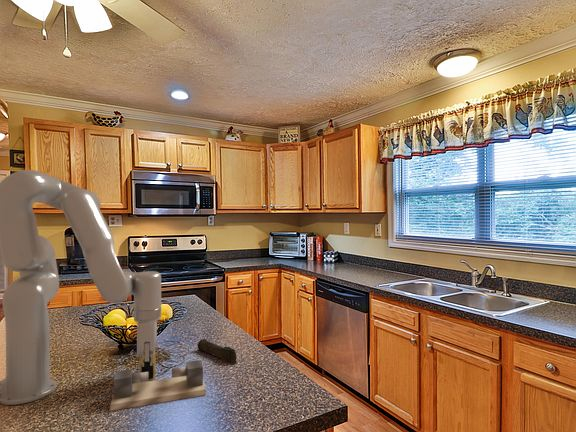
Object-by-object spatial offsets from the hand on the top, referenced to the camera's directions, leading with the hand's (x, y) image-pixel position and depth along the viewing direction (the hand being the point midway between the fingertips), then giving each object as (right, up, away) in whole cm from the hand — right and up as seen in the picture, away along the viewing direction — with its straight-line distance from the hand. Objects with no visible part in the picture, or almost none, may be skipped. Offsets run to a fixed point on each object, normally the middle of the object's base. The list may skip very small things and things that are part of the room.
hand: (147, 374), depth 104 cm
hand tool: (+18, -1, +16) cm, 24 cm away
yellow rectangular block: (0, -1, 0) cm, 1 cm away
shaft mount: (+7, -1, -9) cm, 12 cm away
